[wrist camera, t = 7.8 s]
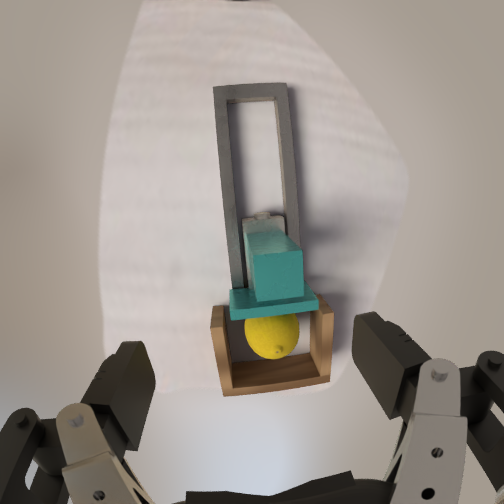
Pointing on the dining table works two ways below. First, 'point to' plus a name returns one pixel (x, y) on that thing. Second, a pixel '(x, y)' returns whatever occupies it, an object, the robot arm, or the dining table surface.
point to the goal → (275, 370)
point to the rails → (286, 152)
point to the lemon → (272, 335)
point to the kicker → (271, 272)
